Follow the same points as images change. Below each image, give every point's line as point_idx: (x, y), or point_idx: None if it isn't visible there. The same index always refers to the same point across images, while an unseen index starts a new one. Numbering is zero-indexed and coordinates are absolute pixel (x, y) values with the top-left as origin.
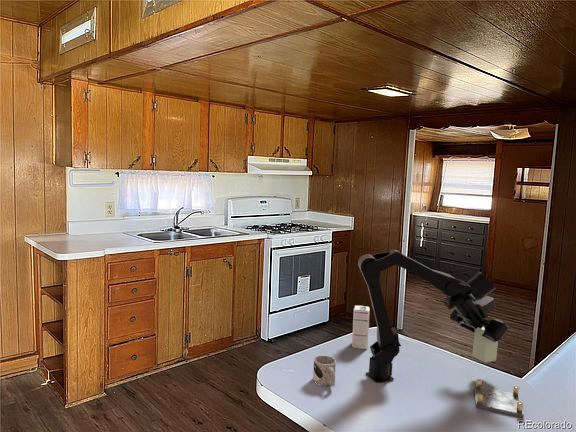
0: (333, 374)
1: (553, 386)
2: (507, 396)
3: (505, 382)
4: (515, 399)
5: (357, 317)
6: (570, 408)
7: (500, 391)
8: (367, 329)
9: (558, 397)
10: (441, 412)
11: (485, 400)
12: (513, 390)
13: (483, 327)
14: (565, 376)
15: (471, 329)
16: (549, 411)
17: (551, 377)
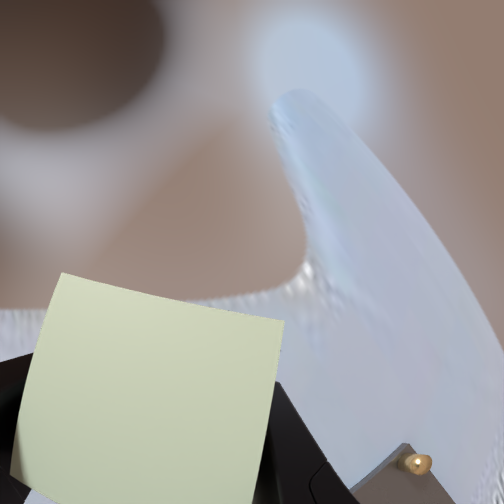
0: None
1: (393, 237)
2: (396, 501)
3: (300, 376)
4: (422, 489)
5: None
6: (493, 334)
7: (360, 497)
8: None
9: (447, 300)
10: None
11: None
12: (409, 472)
13: (79, 422)
14: (353, 146)
15: (17, 490)
16: (486, 416)
17: (345, 181)
